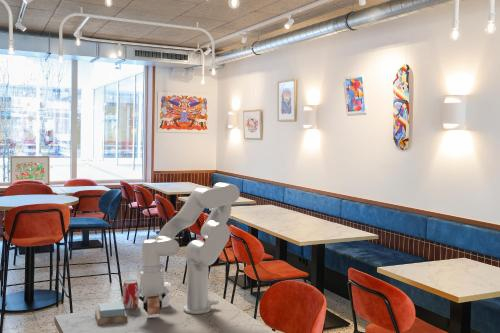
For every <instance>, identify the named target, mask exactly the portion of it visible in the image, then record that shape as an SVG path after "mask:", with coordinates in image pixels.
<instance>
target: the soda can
mask: <svg viewBox="0 0 500 333" xmlns="http://www.w3.org/2000/svg"><path fill="white" fill-rule="evenodd" d="M139 288H140V287H139V283H138V280H135V279H126V280H124V283H123V284H122V302H123V305H124V308H125V309H127V310H132V309H136V308H137V307H138V306H139V298H137V297H136V296H135V294H136V292H137V291H138V290H139Z"/></svg>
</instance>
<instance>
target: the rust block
mask: <svg viewBox="0 0 500 333" xmlns="http://www.w3.org/2000/svg"><path fill="white" fill-rule="evenodd" d="M146 301H147V309H148V311H147V312H146V314H147V315H148V316H154V315H160V312H161V310H160V304H159V296H158V295H151V296H148V297H147V300H146Z"/></svg>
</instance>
